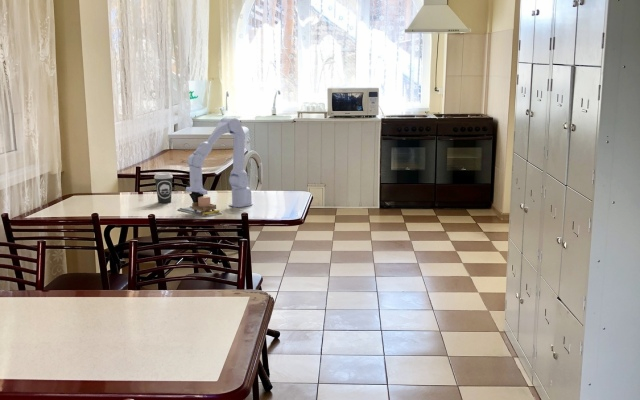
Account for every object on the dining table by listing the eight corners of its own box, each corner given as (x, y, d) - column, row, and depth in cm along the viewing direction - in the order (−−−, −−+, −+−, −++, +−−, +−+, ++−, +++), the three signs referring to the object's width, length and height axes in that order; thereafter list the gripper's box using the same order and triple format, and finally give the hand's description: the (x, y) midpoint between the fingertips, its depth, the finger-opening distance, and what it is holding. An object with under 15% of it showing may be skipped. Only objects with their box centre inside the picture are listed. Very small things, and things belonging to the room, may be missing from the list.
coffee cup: (178, 201, 353) (176, 172, 350) (166, 204, 345) (165, 175, 342) (163, 200, 357) (161, 171, 354) (151, 203, 348) (149, 174, 346)
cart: (206, 208, 328) (205, 200, 327) (216, 211, 323) (216, 202, 322) (192, 211, 322) (192, 203, 322) (202, 213, 317) (202, 205, 316)
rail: (192, 207, 336) (192, 204, 336) (221, 214, 321) (221, 210, 320) (177, 210, 330) (177, 206, 330) (206, 216, 314) (206, 213, 314)
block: (205, 206, 325) (204, 196, 324) (210, 207, 322) (210, 197, 321) (198, 207, 322) (198, 197, 321) (203, 208, 319) (203, 198, 318)
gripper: (180, 179, 326) (181, 207, 328) (198, 182, 316) (199, 211, 318) (192, 177, 331) (193, 204, 333) (210, 180, 321) (211, 208, 323)
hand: (197, 207), depth 326 cm, fingers closed
